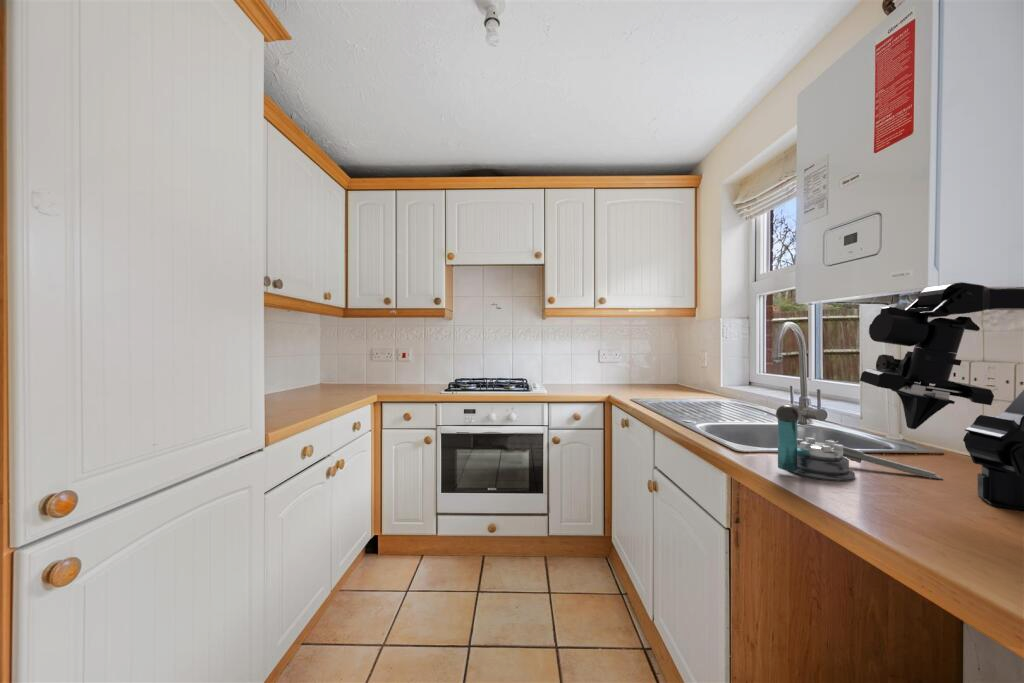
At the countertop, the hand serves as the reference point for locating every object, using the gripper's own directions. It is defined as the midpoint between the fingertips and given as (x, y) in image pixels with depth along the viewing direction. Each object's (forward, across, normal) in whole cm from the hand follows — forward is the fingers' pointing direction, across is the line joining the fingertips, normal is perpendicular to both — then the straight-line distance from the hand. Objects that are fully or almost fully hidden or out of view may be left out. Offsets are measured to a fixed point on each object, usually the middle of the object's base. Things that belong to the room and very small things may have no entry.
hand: (911, 428), depth 79 cm
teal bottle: (+15, +11, -10) cm, 21 cm away
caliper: (+14, -7, -14) cm, 22 cm away
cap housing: (+16, +7, -11) cm, 21 cm away
